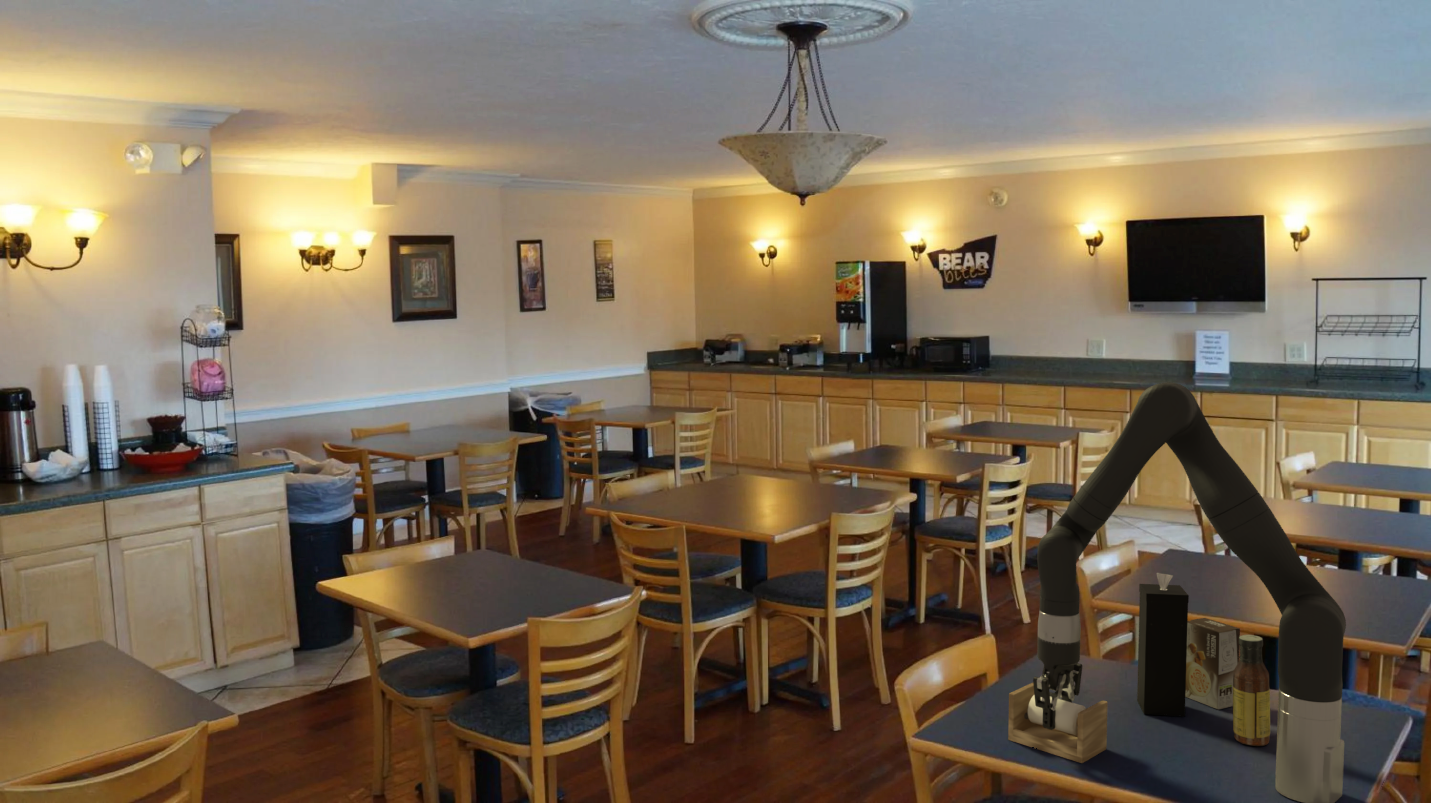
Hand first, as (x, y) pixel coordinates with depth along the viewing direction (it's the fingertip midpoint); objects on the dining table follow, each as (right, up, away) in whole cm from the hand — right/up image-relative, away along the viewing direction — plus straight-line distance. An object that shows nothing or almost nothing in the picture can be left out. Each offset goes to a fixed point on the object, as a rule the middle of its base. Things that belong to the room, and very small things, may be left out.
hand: (1057, 723), depth 203 cm
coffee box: (+38, -2, +22) cm, 44 cm away
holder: (0, -4, 0) cm, 4 cm away
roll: (0, -1, 0) cm, 1 cm away
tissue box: (+26, -2, +18) cm, 32 cm away
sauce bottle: (+36, -4, +1) cm, 37 cm away
